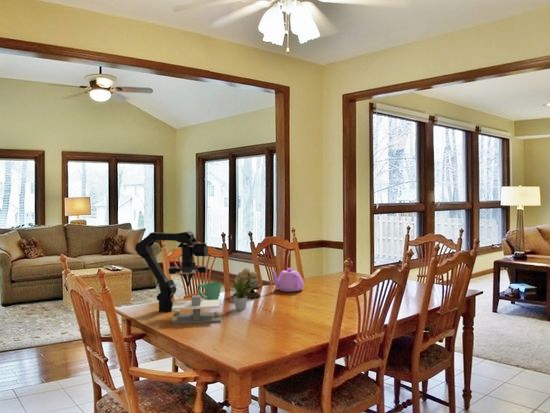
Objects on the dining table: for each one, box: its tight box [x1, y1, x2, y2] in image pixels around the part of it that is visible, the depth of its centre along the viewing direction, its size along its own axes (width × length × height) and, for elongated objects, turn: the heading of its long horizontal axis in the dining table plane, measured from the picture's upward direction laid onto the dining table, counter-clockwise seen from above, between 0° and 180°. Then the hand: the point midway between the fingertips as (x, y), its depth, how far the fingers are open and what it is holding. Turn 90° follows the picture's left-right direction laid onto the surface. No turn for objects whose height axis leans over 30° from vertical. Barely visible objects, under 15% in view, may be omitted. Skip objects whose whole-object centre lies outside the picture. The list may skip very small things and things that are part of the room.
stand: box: [170, 309, 222, 325], centre depth 231 cm, size 23×16×6 cm
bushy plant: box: [233, 267, 262, 300], centre depth 281 cm, size 18×12×17 cm, turn 64°
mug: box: [197, 282, 222, 300], centre depth 269 cm, size 15×10×10 cm
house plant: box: [229, 278, 254, 311], centre depth 250 cm, size 14×14×16 cm
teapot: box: [271, 267, 304, 293], centre depth 297 cm, size 22×22×14 cm
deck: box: [172, 294, 220, 311], centre depth 231 cm, size 22×14×5 cm, turn 96°
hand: (188, 286), depth 245 cm, fingers closed
